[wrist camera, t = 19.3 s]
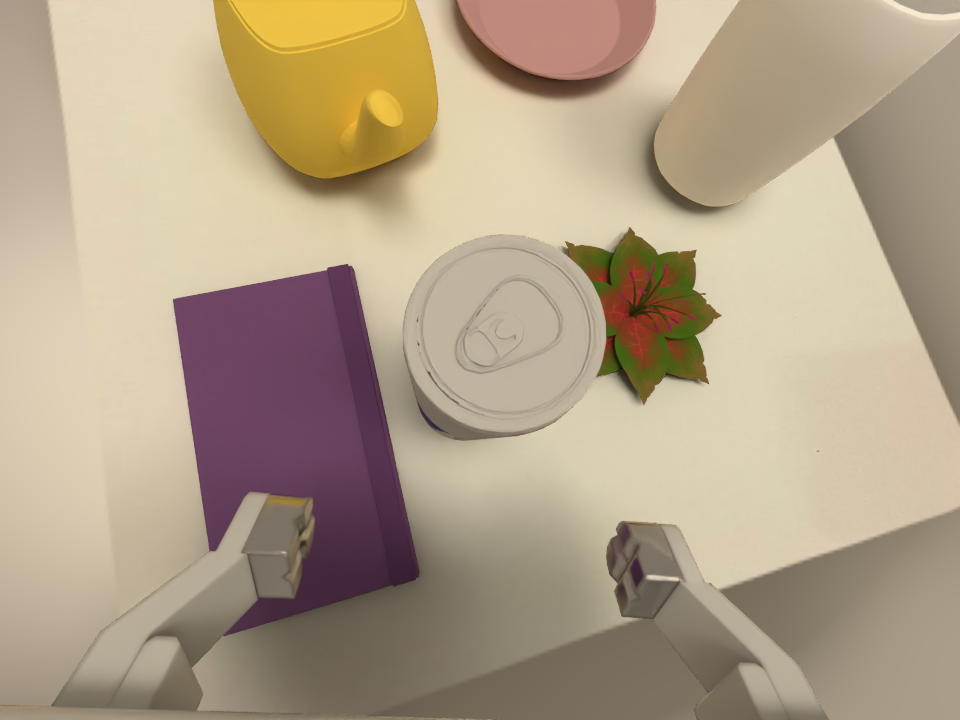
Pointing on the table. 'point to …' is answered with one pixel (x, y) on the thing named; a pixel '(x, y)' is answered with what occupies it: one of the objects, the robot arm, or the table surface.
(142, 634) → the robot arm
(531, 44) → the plate
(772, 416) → the table surface
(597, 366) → the beverage can
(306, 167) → the teapot
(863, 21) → the cup
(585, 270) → the lily flower
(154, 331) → the table surface
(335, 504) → the purple closed book
